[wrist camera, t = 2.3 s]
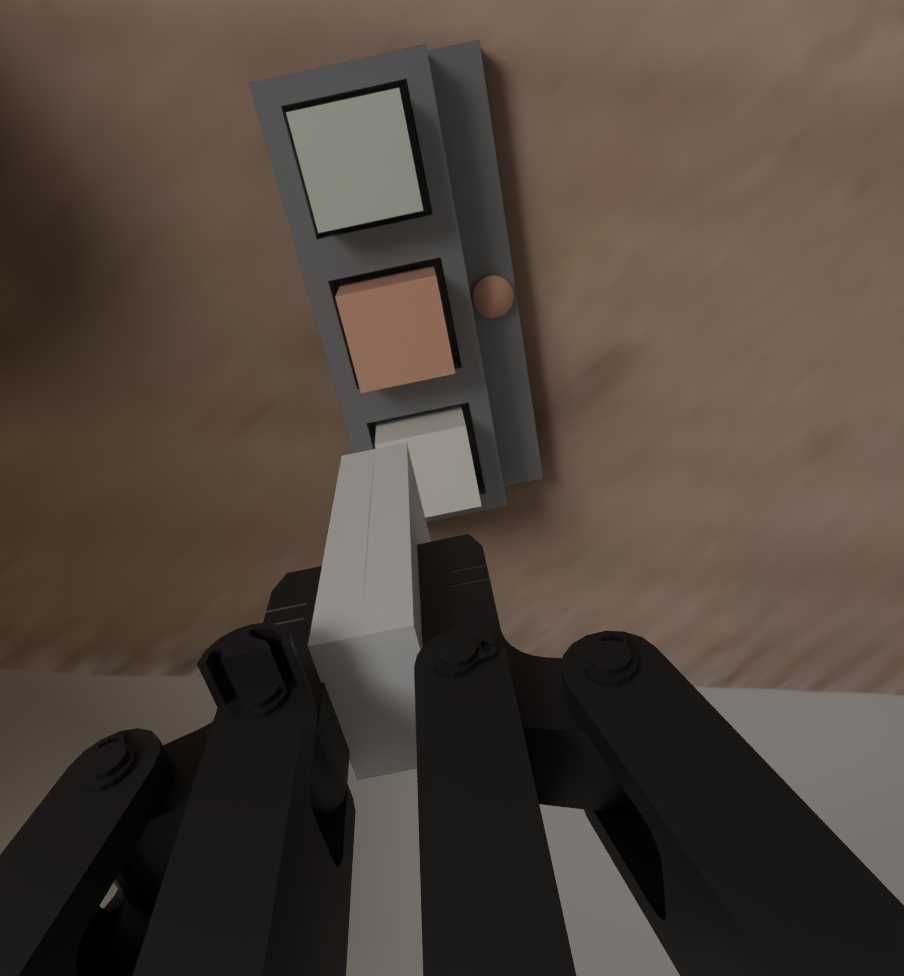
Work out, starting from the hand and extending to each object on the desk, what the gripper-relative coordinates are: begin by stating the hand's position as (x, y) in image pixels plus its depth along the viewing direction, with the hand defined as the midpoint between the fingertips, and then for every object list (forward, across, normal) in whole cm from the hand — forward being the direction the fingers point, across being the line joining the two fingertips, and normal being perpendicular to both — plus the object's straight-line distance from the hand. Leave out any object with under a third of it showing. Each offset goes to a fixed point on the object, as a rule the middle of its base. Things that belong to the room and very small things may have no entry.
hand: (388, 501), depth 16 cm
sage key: (+19, 0, -7) cm, 20 cm away
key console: (+22, -1, 0) cm, 22 cm away
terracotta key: (+19, 0, 0) cm, 19 cm away
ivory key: (+19, 0, +7) cm, 20 cm away
